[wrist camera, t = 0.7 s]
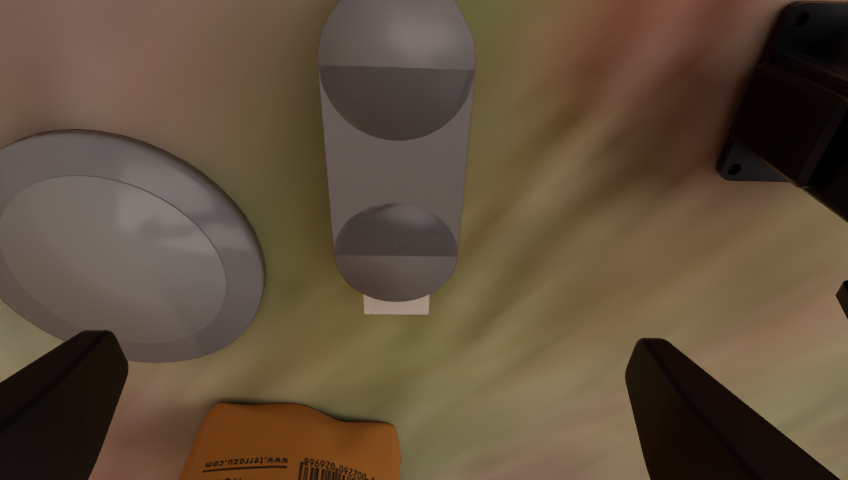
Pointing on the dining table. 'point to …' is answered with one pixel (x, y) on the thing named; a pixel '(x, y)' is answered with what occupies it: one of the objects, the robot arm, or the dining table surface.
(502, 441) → the dining table surface
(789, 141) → the robot arm
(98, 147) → the gray plate
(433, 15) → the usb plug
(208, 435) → the coffee package
